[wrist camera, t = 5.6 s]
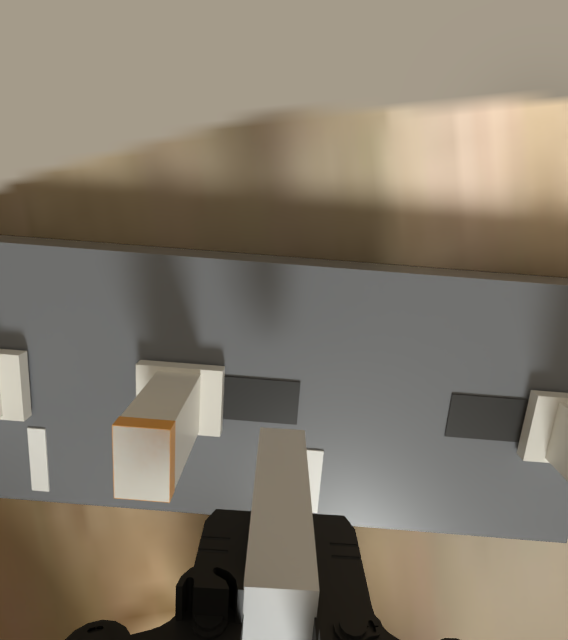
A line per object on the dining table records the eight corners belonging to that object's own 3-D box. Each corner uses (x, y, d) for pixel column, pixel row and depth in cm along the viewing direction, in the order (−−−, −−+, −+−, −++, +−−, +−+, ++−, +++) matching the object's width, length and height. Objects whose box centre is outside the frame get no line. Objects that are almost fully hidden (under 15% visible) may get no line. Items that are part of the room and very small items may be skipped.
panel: (-73, 459, 24) (-116, 489, 21) (-106, 226, 21) (-160, 230, 18) (554, 509, 24) (584, 545, 21) (613, 281, 21) (657, 292, 18)
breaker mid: (141, 423, 20) (87, 500, 15) (140, 359, 19) (83, 417, 14) (222, 430, 20) (196, 509, 15) (225, 366, 19) (198, 426, 14)
